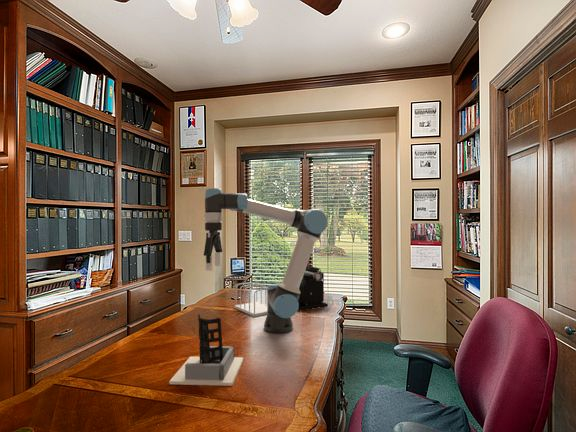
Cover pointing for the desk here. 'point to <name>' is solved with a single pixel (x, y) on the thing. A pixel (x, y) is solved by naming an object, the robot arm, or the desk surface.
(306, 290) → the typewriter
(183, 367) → the bay
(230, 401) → the desk surface
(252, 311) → the file sorter
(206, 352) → the holder
